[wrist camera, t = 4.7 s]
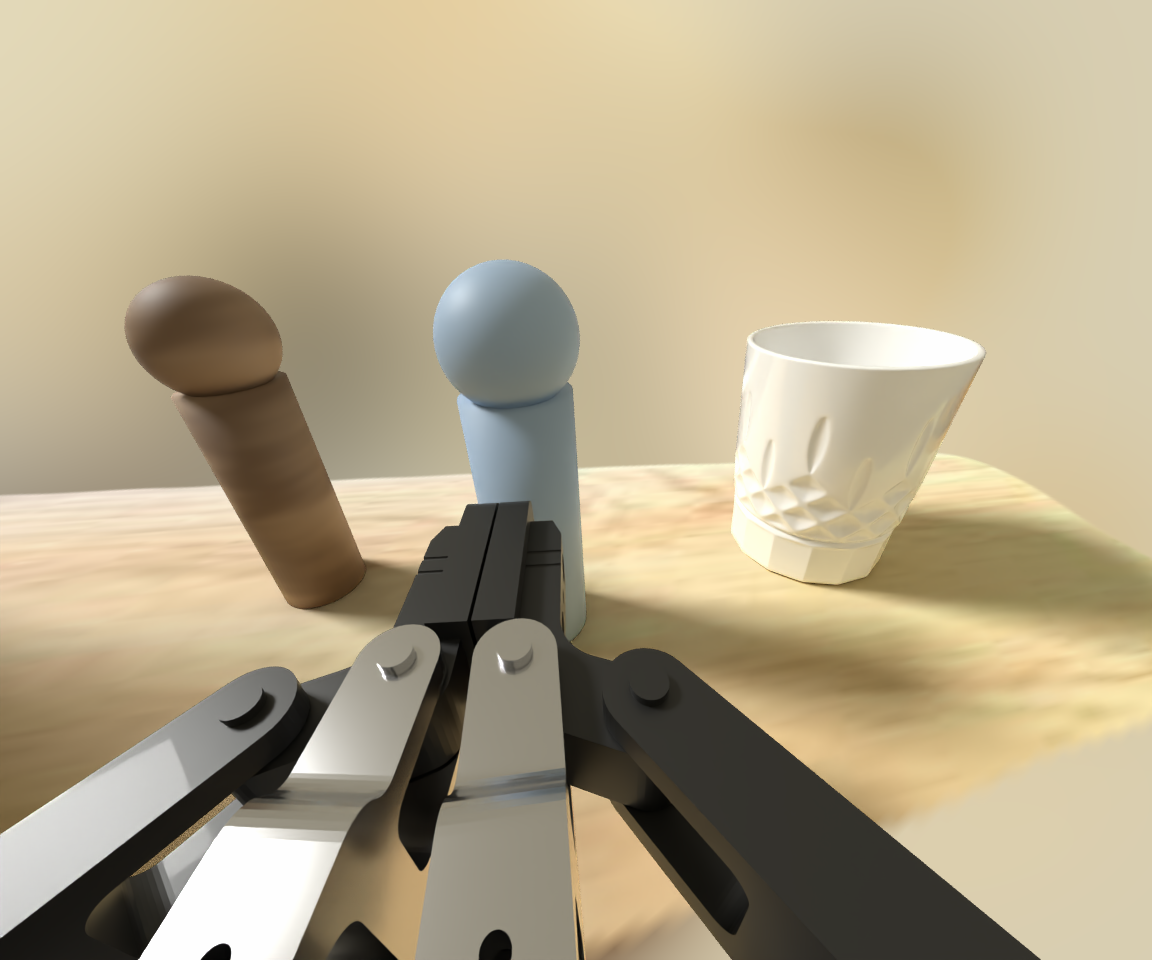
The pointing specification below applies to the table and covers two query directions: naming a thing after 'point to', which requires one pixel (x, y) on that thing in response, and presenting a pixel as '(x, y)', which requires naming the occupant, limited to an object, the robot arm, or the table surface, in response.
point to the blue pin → (518, 397)
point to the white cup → (840, 439)
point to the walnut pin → (248, 429)
